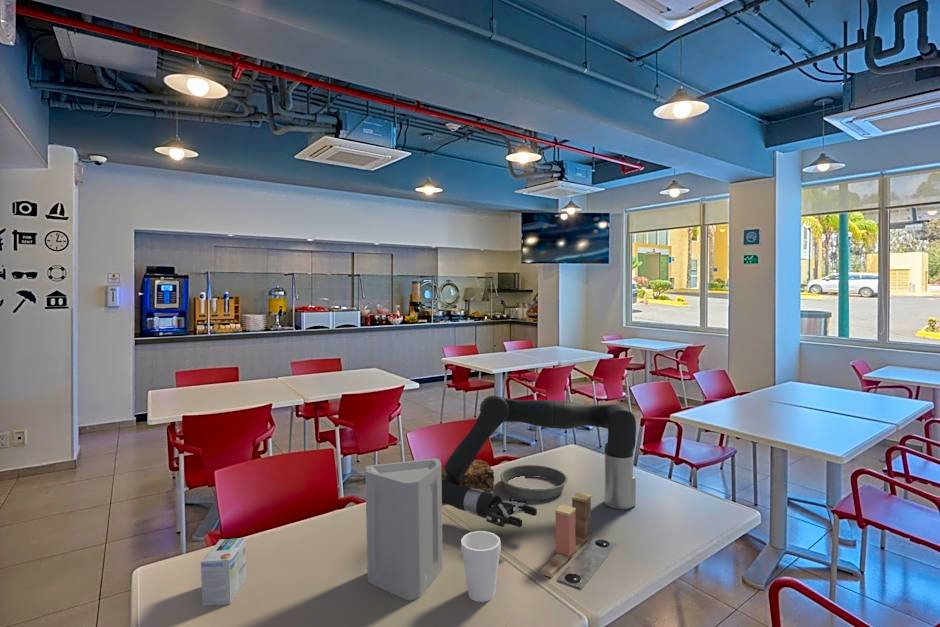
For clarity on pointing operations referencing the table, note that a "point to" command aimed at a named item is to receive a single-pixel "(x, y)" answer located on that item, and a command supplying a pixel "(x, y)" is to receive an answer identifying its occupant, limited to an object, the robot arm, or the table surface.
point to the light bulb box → (223, 572)
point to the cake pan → (534, 471)
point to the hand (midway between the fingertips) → (529, 517)
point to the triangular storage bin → (404, 526)
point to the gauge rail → (562, 557)
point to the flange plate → (587, 562)
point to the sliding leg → (565, 530)
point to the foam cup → (481, 563)
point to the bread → (477, 476)
